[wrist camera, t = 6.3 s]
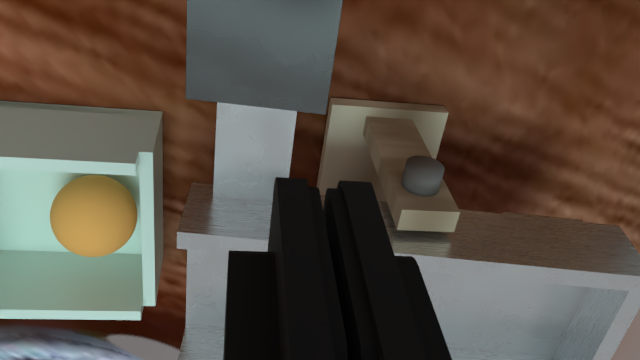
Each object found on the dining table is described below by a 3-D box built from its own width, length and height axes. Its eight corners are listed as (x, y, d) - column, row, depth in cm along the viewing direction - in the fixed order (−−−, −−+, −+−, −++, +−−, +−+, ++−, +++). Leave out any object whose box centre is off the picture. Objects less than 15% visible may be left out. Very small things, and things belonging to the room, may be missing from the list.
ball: (98, 151, 31) (154, 181, 29) (103, 214, 33) (155, 246, 31) (26, 181, 28) (84, 217, 26) (36, 249, 30) (90, 286, 28)
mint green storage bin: (162, 111, 30) (137, 221, 22) (163, 256, 35) (142, 385, 27) (-41, 97, 28) (-140, 210, 21) (-10, 251, 33) (-82, 387, 26)
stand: (446, 97, 31) (510, 193, 24) (396, 286, 38) (433, 405, 31) (331, 88, 30) (361, 186, 23) (301, 284, 37) (317, 407, 30)
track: (695, -5, 24) (788, 43, 19) (543, 326, 33) (581, 411, 29) (206, -72, 22) (178, -37, 18) (195, 295, 32) (175, 380, 27)
